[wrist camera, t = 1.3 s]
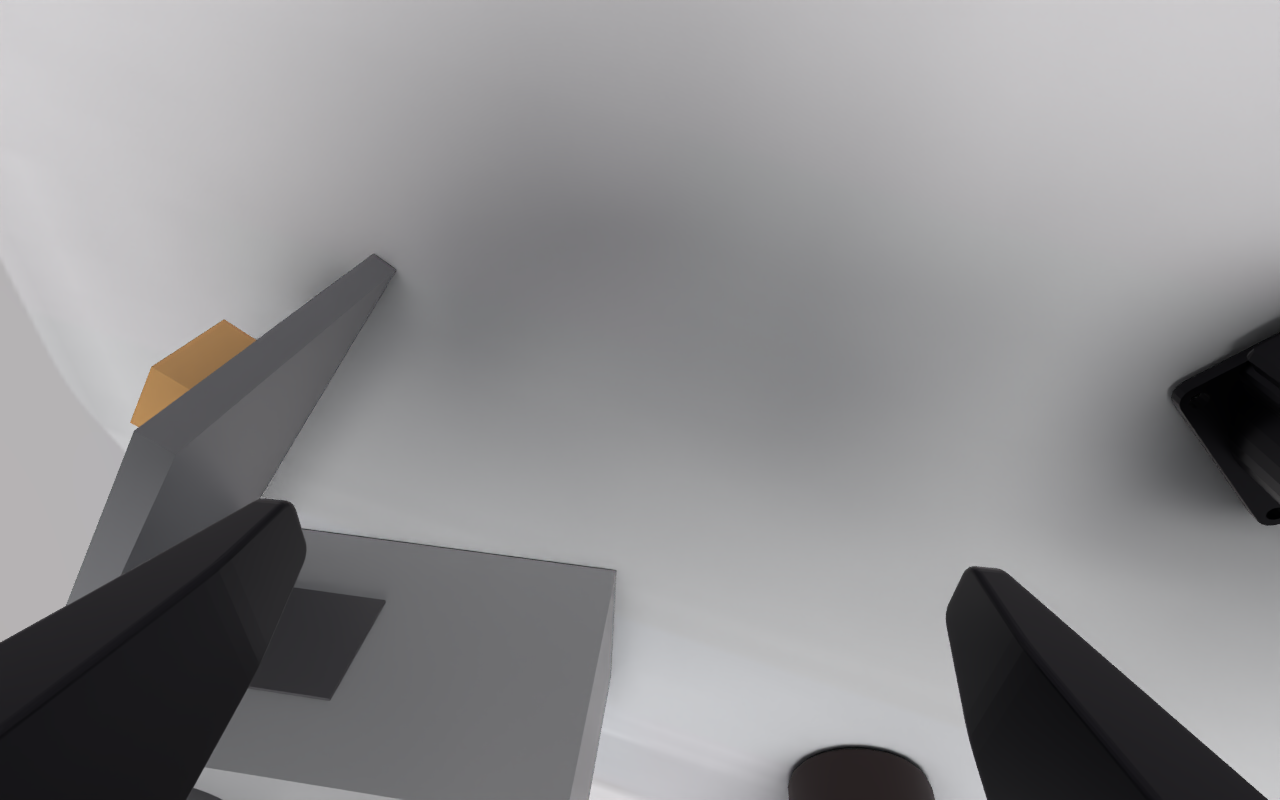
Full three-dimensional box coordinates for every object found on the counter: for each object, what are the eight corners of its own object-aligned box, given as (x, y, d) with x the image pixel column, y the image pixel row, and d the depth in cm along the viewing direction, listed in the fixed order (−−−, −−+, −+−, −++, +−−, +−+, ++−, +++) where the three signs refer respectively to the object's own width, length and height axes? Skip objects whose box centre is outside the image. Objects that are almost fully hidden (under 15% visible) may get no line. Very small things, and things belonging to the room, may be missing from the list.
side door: (248, 518, 27) (48, 738, 19) (202, 492, 27) (-24, 707, 19) (397, 270, 20) (178, 455, 12) (338, 228, 20) (69, 393, 12)
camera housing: (616, 568, 26) (554, 872, 17) (610, 676, 30) (557, 970, 21) (251, 520, 27) (14, 781, 18) (291, 630, 31) (112, 890, 22)
